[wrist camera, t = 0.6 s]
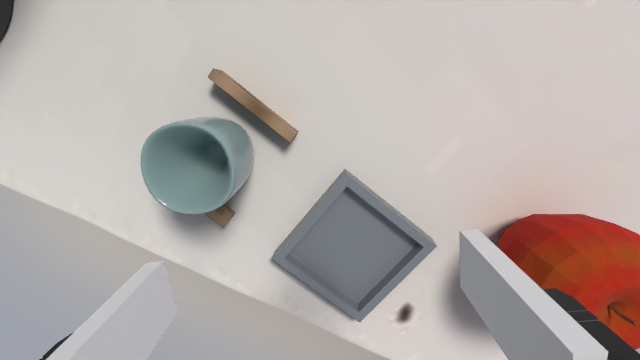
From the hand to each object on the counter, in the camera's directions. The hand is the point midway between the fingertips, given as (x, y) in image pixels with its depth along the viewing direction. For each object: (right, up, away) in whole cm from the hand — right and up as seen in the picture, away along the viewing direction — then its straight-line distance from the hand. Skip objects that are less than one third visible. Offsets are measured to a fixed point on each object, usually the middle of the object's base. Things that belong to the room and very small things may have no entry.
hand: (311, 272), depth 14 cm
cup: (-10, +8, +21) cm, 25 cm away
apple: (+24, -3, +23) cm, 33 cm away
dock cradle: (+4, -4, +24) cm, 24 cm away
